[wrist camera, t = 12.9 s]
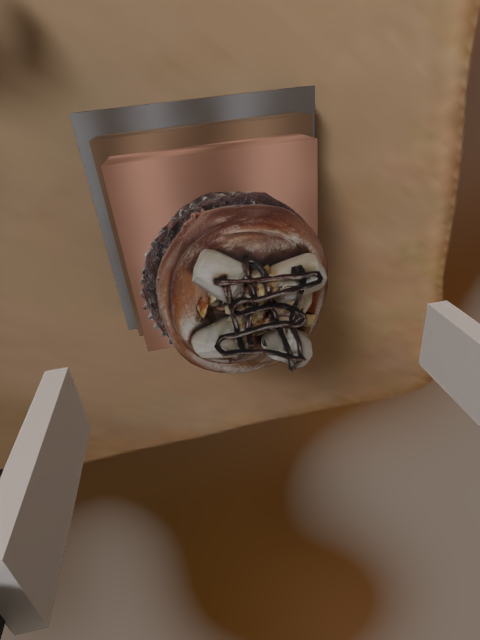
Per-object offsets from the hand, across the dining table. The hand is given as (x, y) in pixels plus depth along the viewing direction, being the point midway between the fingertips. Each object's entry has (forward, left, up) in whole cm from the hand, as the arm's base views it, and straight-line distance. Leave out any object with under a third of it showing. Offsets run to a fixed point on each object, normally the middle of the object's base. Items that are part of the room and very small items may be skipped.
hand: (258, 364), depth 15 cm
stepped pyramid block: (0, 0, -23) cm, 23 cm away
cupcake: (0, 0, -12) cm, 12 cm away
